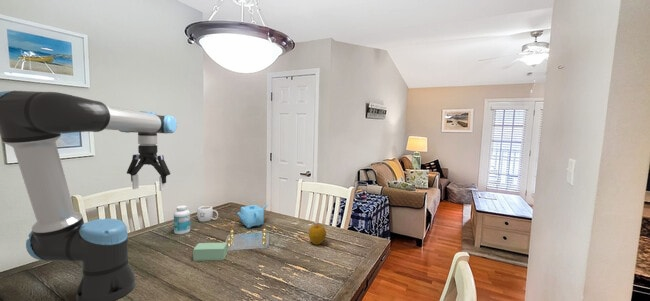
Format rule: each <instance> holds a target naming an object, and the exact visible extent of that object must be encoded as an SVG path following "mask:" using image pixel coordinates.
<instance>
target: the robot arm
mask: <svg viewBox="0 0 650 301" xmlns="http://www.w3.org/2000/svg"><path fill="white" fill-rule="evenodd" d="M177 124H178V123H177V120H176V118H175V117H174V116H172V115H168V114H167V115H166V114H165V115H160V114H157V113H156V112H154V111H146V110H145V111H144V110H143V111H142V110H141V111H137V110H130V109H124V108H120V107H113V106H108V105H106V104H105V103H104V102H101V101H100V100H93V99H89V98H85V97H80V96H76V95H71V94H67V93H64V92H63V93H62V92H58V91H57V92H56V91H55V92H54V91H33V90H32V91H30V90H29V91H27V90H6V91H0V137H1V141H2V143H3V144H5V145H7V146H10V147H12V148H13V151H14V154H15V158H16V161H17V163H18V166H19V170H20V173H21V176H22V180H23V183H24V186H25V189H26V191H27V194H28V198H29V201H30V203H31V207H32V211H33V213H34V216H35V221H36V222H35V223H34V224H33V225H32V226H31V231H30V233H29V234H28V239H26V241H25V248H26V251H27V253H28V254H29V255H30V257H32V258H33V259H35V260H39V261H43V262H52V263H53V262H67V263H70V262H71V263H81V269H82V274H81V275H82V276H81V279H80V281H79V283H78V288H77V290H76V293H75V301H116V300H119V299H121V298H122V297H124V296H126V295H128V294H129V293H130V292H132V290H134V289H135V287H136V276H135V274H134V272H133V270H132V268H131V267H130V264H129V247H128V246H129V242H128V241H129V240H128V239H129V238H128V237H129V233H128V228H127V225H126V223H125V222H124V221H123V220H120V219H117V218H98V219H92V220H90V221H86V222H85V221H84V218H83V214H81V213H80V212H77V211H75V208H74V205H73V201H72V197H71V194H70V190H69V186H68V183H67V180H66V175H65V171H64V168H63V164H62V161H61V157H60V153H59V150H58V146H57V141H58V139H59V138H61V136H62V134H72V133H85V132H86V133H87V132H88V133H89V132H91V133H98V132H102V131H105V130H107V131H110V130H111V131H119V132H121V133H125V134H126V133H128V134H129V133H130V134H131V133H137V144H138V147H137V149H138V150H137V151H138V153H139V154H138V153H137V154H132V158H131V159H132V160H131V162H130V164H129V167H128V169H127V171H126V174H127V175H130V180H131V181H130V182H132V190H137V189H139V188H140V187H139V174H138V173H139V171H141V169H142V168H143V166H146V165H148V166H152V167H153V168H154V169H155V171H156V172H157V173H158V174H159V177H158V178H159V186H158V187H159V191H161V192H162V191H165V190H166V183H167V176H169V175H171V171H170V169H169V168H168V166H167V163H166V161H165V158H164V155H162V154H161V155H157V153H158V145H157V144H158V134H174V133H175V131H176V130H177V127H178V126H177Z"/></svg>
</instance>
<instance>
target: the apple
mask: <svg viewBox="0 0 650 301" xmlns="http://www.w3.org/2000/svg"><path fill="white" fill-rule="evenodd" d="M326 237H327V231H326V228H325V226H322V225H320V224H313V225H312V226H310V228H309V230H308V238H309V240H310V241H311V243H312V244H313V245H316V246H318V245H320V244H322V243H323V241H324V240H325V239H326Z"/></svg>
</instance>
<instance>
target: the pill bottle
mask: <svg viewBox="0 0 650 301" xmlns="http://www.w3.org/2000/svg"><path fill="white" fill-rule="evenodd" d="M190 231H191V211H190V210H189V209H188V206H187V205H178V206H176V211H175V212H174V213H173V233H174V235H175V234H176V235H185V234H188V233H189V232H190Z"/></svg>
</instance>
